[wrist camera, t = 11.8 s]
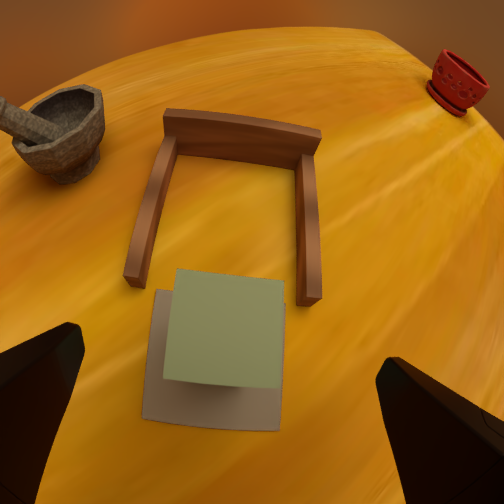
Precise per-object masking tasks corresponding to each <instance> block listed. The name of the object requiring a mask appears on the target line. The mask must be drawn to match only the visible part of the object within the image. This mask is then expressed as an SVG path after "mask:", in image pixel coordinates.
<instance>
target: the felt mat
mask: <svg viewBox="0 0 504 504" xmlns="http://www.w3.org/2000/svg"><path fill="white" fill-rule="evenodd" d="M172 297H173V291H168V290H161V289H157V290H156V296H155V302H154V309H153V315H152V322H151V330H150V337H149V345H148V353H147V362H146V372H145V382H144V394H143V407H142V418H143V419H148V420H153V421H159V422H165V423H172V424H179V425H186V426H195V427H204V428H216V429H230V430H254V431H280V418H281V401H282V382H283V361H284V336H285V303H283V334H282V359H281V381H280V388H253V387H236V386H223V385H212V384H202V383H194V382H186V381H178V380H171V379H165V378H163V371H164V361H165V352H166V343H167V334H168V326H169V319H170V311H171V304H172Z"/></svg>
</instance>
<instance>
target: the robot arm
mask: <svg viewBox="0 0 504 504" xmlns="http://www.w3.org/2000/svg"><path fill="white" fill-rule="evenodd" d="M84 353H85V346H84V341H83V336H82V331H81V327H80V326H79V325H78V324H74V323H70V322H65V323H63V324H61V325H59V326H57V327H55V328H53V329H50V330H48V331H46V332H44V333H42V334H40V335H38V336H36V337H33V338H31V339H29V340H27V341H25V342H23V343H21V344H19V345H17V346H15V347H12V348H10V349H8V350H6V351H4V352H2V353H0V504H35V500H36V496H37V493H38V489H39V485H40V482H41V479H42V475H43V472H44V469H45V466H46V463H47V459H48V456H49V453H50V451H51V448H52V445H53V442H54V439H55V436H56V434H57V431H58V428H59V426H60V423H61V421H62V418H63V416H64V413H65V411H66V408H67V406H68V403H69V401H70V398H71V395H72V392H73V389H74V385H75V382H76V379H77V375H78V372H79V369H80V366H81V363H82V360H83V357H84ZM376 388H377V392H378V397H379V402H380V406H381V411H382V416H383V421H384V425H385V428H386V431H387V435H388V438H389V441H390V445H391V448H392V452H393V455H394V459H395V462H396V466H397V470H398V473H399V477H400V481H401V485H402V489H403V493H404V497H405V501H406V504H504V421H502V420H500V419H498V418H497V417H495V416H493V415H491V414H490V413H488V412H486V411H485V410H483V409H482V408H479V407H478V406H477V405H475V404H473V403H472V402H470V401H469V400H467V399H465V398H464V397H462V396H460V395H459V394H457V393H456V392H454V391H452V390H451V389H449V388H448V387H446V386H444V385H443V384H441V383H440V382H438V381H436V380H435V379H433V378H432V377H430V376H428V375H427V374H425V373H424V372H422V371H420V370H419V369H417V368H416V367H414V366H413V365H411V364H409V363H408V362H406V361H405V360H403V359H401V358H400V357H388V358H387V359H386V360H385V361H384V363H383V365H382V367H381V369H380V370H379V372H378V374H377V376H376Z"/></svg>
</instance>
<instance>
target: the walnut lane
mask: <svg viewBox="0 0 504 504" xmlns="http://www.w3.org/2000/svg"><path fill="white" fill-rule="evenodd" d="M163 123H164V135H165V136H164V139H163V141H162V144H161V147H160V149H159V152H158V155H157V158H156V160H155V163H154V166H153V169H152V172H151V175H150V178H149V181H148V184H147V187H146V190H145V194H144V197H143V200H142V203H141V207H140V210H139V214H138V217H137V221H136V224H135V228H134V232H133V235H132V239H131V243H130V247H129V251H128V255H127V259H126V264H125V268H124V273H123V276H124V278H125V279H126V280H127V282H128V283H129V285H130V286H132V287H138V288H145V286H146V281H147V275H148V270H149V265H150V260H151V256H152V251H153V246H154V242H155V237H156V233H157V229H158V225H159V220H160V216H161V212H162V208H163V205H164V201H165V197H166V193H167V189H168V186H169V182H170V179H171V175H172V172H173V168H174V165H175V161H176V158H177V155H178V154H180V155H190V156H200V157H209V158H218V159H226V160H234V161H241V162H248V163H255V164H262V165H268V166H274V167H280V168H286V169H292V170H295V192H296V237H297V306H310V307H311V306H312V305H313V304H315V303H316V302H318V301H319V300H320V299H322V274H321V250H320V231H319V215H318V202H317V189H316V178H315V167H314V158H313V156H314V154H315V152H316V149H317V147H318V145H319V143H320V141H321V139H322V137H321V131H320V130H318V129H313V128H309V127H304V126H300V125H295V124H290V123H285V122H279V121H274V120H268V119H262V118H256V117H249V116H242V115H235V114H227V113H218V112H209V111H198V110H186V109H170V108H166V110H165V113H164V115H163Z"/></svg>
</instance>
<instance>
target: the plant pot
mask: <svg viewBox="0 0 504 504" xmlns="http://www.w3.org/2000/svg"><path fill="white" fill-rule="evenodd" d="M451 74H452V75H451ZM458 81H461V82H460V83H459V82H458ZM469 87H470V88H469ZM427 88H428V90H429V92H430V94H431V95H432V96H433V97H434V99H435V100H436V101H437V102H438V103H439V104H441V105H442V106H443V107H444V108H445V109H447V110H448V111H450V112H451V113H453V114H455V115H458V116H464V115H466V114H467V110H466V109H468V108H470V107H472V106H474V105H475V104H477V103H478V102H479V101H480V100H481V99H482V98H483V97H484V95H485V94H486V93H487V91H488V90H489V88H490V87H489V84H488V83H487V81H486V80H485V79H484V78H483V77H482V75H481V74H480V73H479V72H478V71H477V70H475V69H474V68H473V67H472V66H471V65H470V64H469V63H467V62H466V61H465V60H463V59H462V58H460V57H459V56H458V55H456V54H455V53H453V52H451V51H449V50H446V49H444V50H442V52H441V53H440V55H439V57H438V59H437V61H436V63H435V66H434V68H433V73H432V80H428V81H427ZM468 88H469V89H468Z"/></svg>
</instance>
